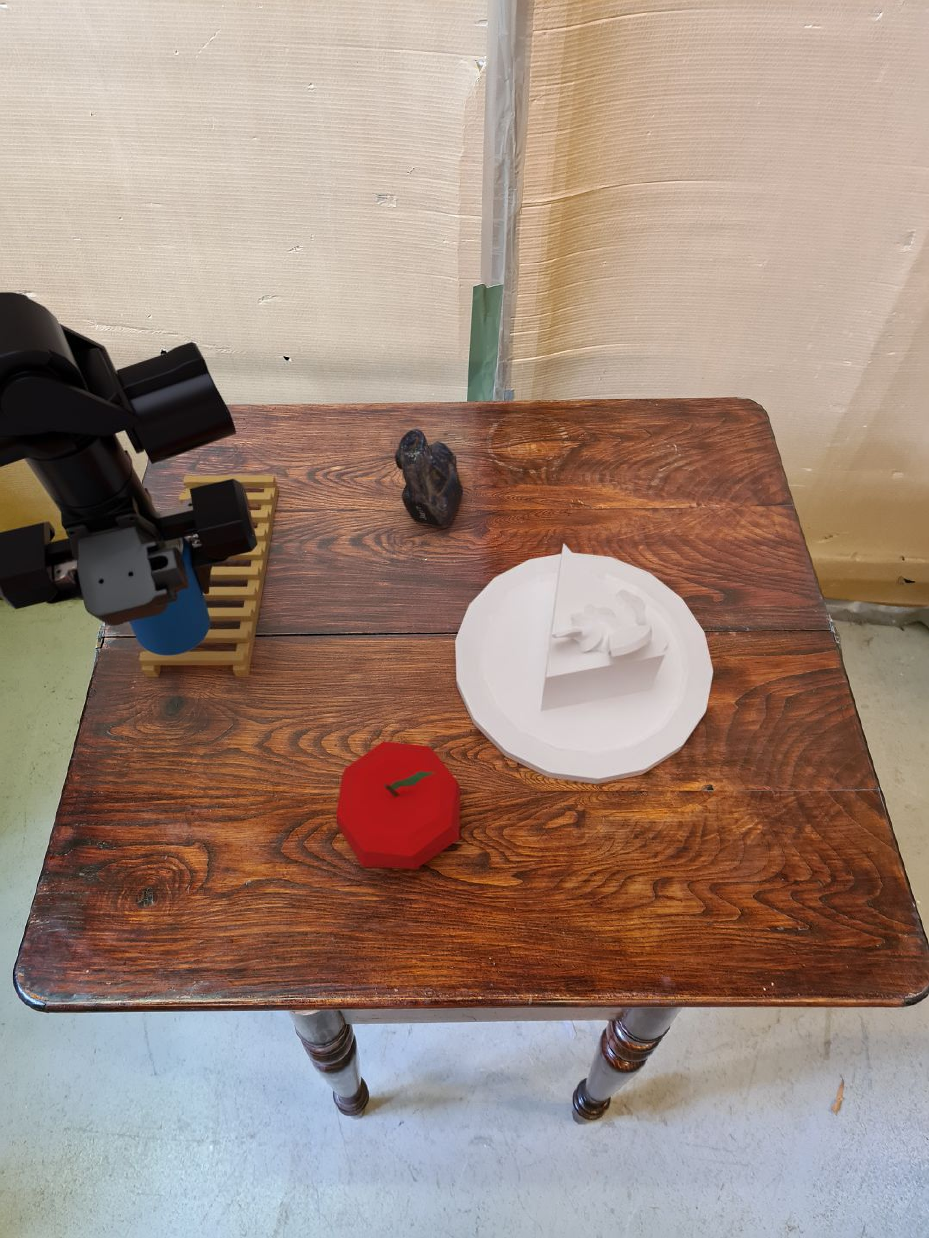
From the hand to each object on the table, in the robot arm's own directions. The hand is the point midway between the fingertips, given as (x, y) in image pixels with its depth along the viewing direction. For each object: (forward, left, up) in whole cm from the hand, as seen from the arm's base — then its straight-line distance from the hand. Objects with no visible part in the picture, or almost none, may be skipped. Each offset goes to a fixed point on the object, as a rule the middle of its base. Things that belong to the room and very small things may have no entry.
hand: (164, 600), depth 68 cm
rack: (+3, +11, -12) cm, 16 cm away
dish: (+35, -11, -12) cm, 39 cm away
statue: (+27, +12, -12) cm, 32 cm away
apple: (+14, -21, -12) cm, 28 cm away
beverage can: (-1, 0, -5) cm, 5 cm away
